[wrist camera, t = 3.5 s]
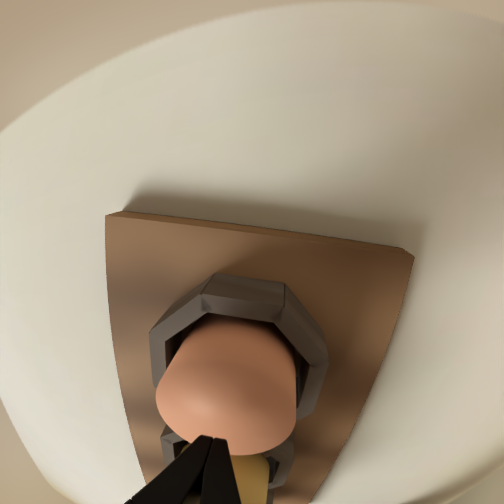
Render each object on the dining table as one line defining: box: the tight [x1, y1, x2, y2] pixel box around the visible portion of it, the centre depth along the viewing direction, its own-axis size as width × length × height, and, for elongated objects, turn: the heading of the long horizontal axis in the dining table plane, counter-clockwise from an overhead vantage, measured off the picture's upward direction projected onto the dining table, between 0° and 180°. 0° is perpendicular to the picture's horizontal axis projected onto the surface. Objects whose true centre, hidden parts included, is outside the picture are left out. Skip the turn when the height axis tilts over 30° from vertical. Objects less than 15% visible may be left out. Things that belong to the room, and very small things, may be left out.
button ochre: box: [181, 443, 270, 504], centre depth 11 cm, size 5×5×4 cm
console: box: [105, 211, 414, 504], centre depth 15 cm, size 25×14×4 cm, turn 174°
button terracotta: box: [156, 312, 296, 455], centre depth 11 cm, size 5×5×4 cm
